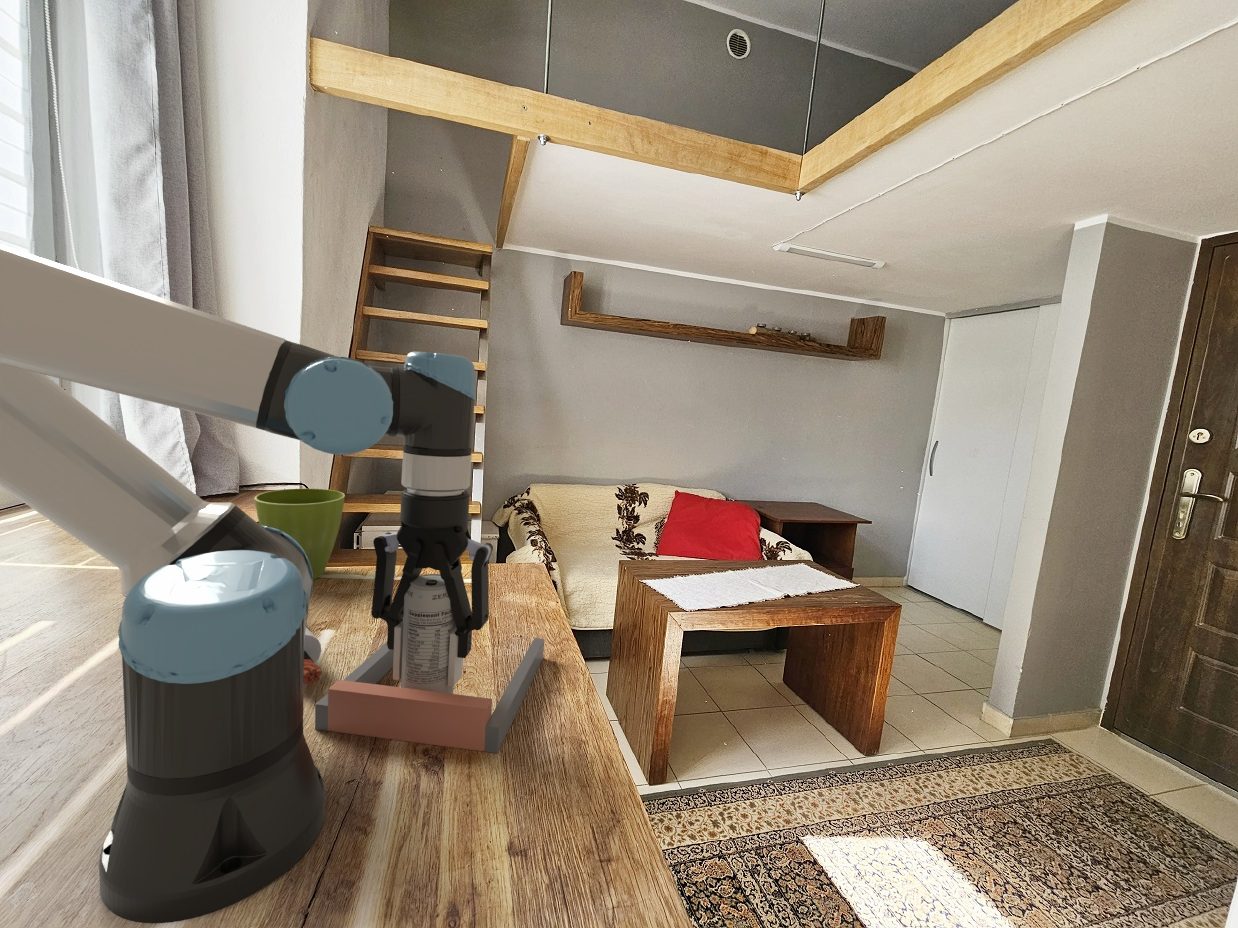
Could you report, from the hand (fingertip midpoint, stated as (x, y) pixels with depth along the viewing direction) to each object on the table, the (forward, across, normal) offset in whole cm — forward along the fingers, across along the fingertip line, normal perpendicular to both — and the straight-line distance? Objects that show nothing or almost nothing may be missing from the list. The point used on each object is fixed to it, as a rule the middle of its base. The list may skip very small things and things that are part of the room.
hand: (428, 677), depth 65 cm
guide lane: (+4, 0, -5) cm, 7 cm away
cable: (+5, +29, -10) cm, 31 cm away
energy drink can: (+3, 0, 0) cm, 3 cm away
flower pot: (+5, +42, -37) cm, 56 cm away
